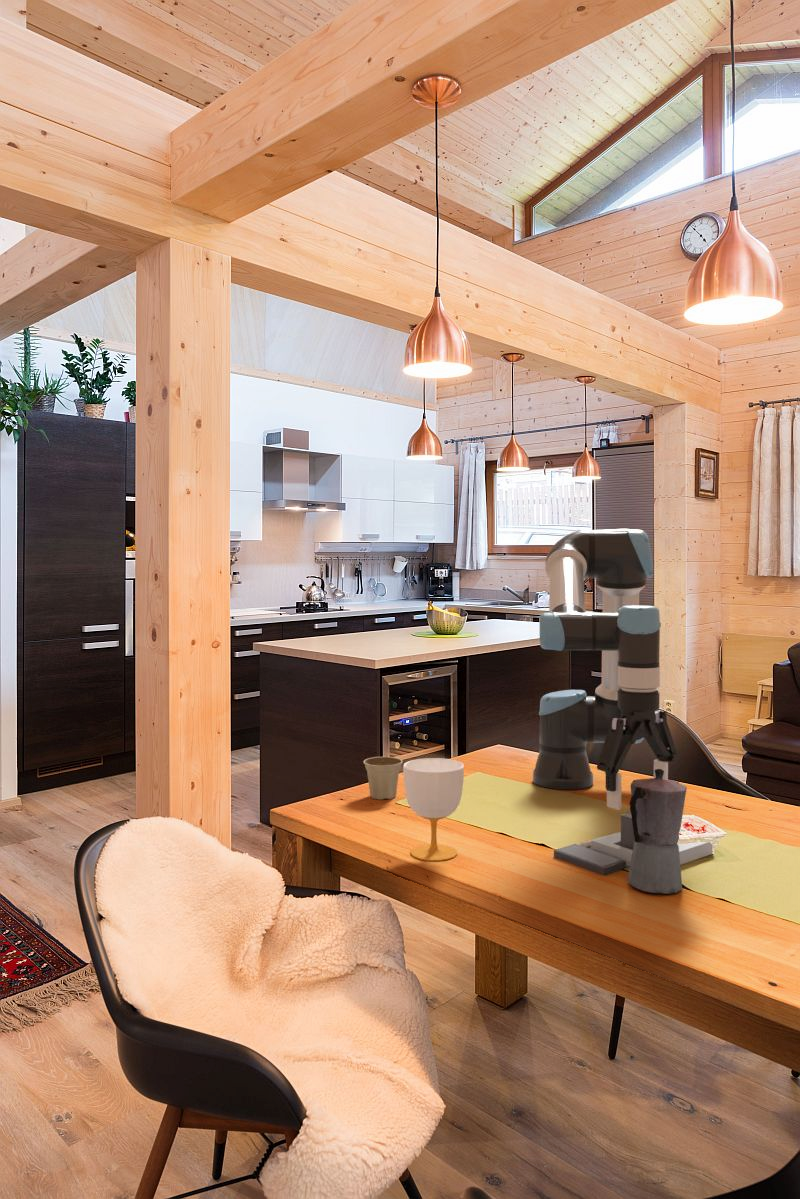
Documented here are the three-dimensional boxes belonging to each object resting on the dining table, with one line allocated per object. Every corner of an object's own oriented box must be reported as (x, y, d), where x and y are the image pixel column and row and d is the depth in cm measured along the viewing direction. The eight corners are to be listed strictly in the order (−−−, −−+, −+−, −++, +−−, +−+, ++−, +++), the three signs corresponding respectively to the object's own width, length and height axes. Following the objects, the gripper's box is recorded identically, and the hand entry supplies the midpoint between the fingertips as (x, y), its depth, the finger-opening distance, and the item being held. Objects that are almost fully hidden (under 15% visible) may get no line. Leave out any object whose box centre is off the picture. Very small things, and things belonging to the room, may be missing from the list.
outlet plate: (650, 835, 167) (650, 821, 166) (712, 853, 155) (712, 839, 155) (591, 853, 156) (591, 839, 156) (652, 874, 145) (652, 859, 145)
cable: (612, 837, 165) (612, 832, 165) (616, 839, 164) (616, 834, 164) (575, 848, 159) (575, 843, 159) (579, 850, 158) (579, 845, 158)
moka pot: (700, 881, 142) (701, 766, 141) (662, 908, 130) (662, 784, 129) (648, 868, 148) (648, 758, 147) (607, 893, 136) (607, 774, 136)
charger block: (635, 852, 157) (635, 810, 156) (655, 858, 153) (655, 815, 153) (620, 857, 154) (620, 814, 154) (640, 864, 150) (640, 820, 150)
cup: (442, 868, 148) (441, 775, 148) (391, 855, 156) (390, 766, 155) (476, 851, 158) (476, 763, 157) (426, 839, 165) (426, 755, 164)
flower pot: (399, 802, 192) (399, 766, 191) (360, 801, 193) (359, 764, 193) (405, 792, 201) (405, 757, 201) (367, 790, 202) (367, 756, 202)
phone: (575, 849, 158) (575, 843, 158) (625, 867, 148) (625, 860, 148) (553, 856, 154) (553, 849, 154) (603, 875, 145) (603, 867, 145)
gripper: (663, 679, 163) (662, 785, 164) (577, 693, 148) (577, 808, 149) (696, 684, 156) (695, 793, 158) (609, 698, 142) (609, 819, 143)
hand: (637, 801), depth 153 cm, fingers open, 13 cm apart
